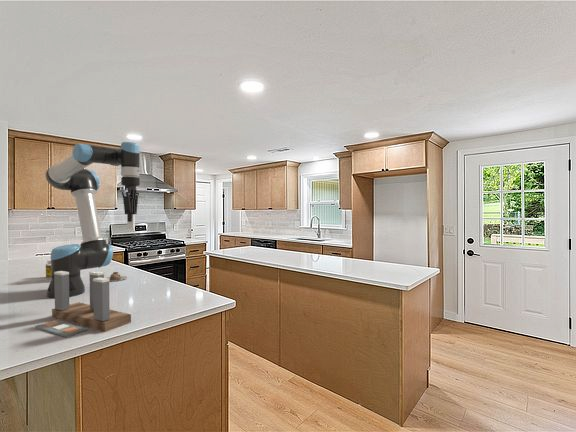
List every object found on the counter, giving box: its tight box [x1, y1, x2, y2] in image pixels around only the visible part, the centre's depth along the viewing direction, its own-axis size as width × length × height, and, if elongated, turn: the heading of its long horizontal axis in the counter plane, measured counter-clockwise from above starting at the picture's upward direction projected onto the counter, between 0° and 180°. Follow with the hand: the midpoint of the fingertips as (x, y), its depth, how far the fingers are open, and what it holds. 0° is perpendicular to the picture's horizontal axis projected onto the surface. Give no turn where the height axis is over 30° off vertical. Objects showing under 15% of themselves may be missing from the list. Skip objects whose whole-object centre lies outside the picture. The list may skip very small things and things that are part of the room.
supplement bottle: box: [45, 259, 51, 279], centre depth 192 cm, size 6×6×10 cm
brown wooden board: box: [51, 301, 132, 333], centre depth 123 cm, size 32×10×3 cm, turn 63°
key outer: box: [93, 277, 111, 321], centre depth 114 cm, size 3×5×14 cm, turn 63°
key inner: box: [54, 271, 70, 311], centre depth 125 cm, size 3×5×14 cm, turn 63°
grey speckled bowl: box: [106, 271, 128, 282], centre depth 189 cm, size 12×12×5 cm
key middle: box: [88, 270, 105, 310], centre depth 125 cm, size 3×5×14 cm, turn 63°
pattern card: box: [35, 319, 88, 338], centre depth 113 cm, size 18×7×1 cm, turn 63°
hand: (131, 228), depth 149 cm, fingers closed
